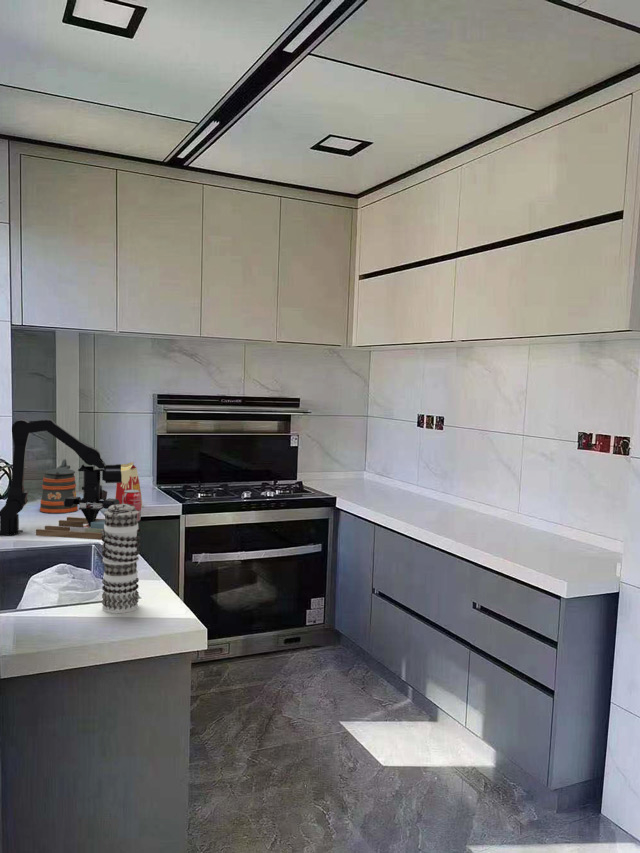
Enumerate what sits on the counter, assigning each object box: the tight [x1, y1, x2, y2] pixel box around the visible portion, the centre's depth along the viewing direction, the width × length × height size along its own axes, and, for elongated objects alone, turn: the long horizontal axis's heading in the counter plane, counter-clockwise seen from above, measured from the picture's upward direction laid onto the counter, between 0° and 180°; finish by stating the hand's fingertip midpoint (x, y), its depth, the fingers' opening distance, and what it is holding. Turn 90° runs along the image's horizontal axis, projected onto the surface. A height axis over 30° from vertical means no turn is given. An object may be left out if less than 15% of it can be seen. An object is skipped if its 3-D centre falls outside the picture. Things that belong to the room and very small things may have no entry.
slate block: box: [90, 518, 105, 529], centre depth 246 cm, size 6×6×4 cm
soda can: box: [122, 490, 142, 523], centre depth 265 cm, size 7×7×12 cm
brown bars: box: [35, 516, 106, 540], centre depth 247 cm, size 23×26×3 cm
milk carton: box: [114, 461, 144, 509], centre depth 291 cm, size 9×9×20 cm
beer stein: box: [39, 458, 79, 515], centre depth 284 cm, size 19×15×20 cm
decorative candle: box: [100, 504, 142, 614], centre depth 166 cm, size 9×9×25 cm
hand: (91, 526), depth 247 cm, fingers closed
